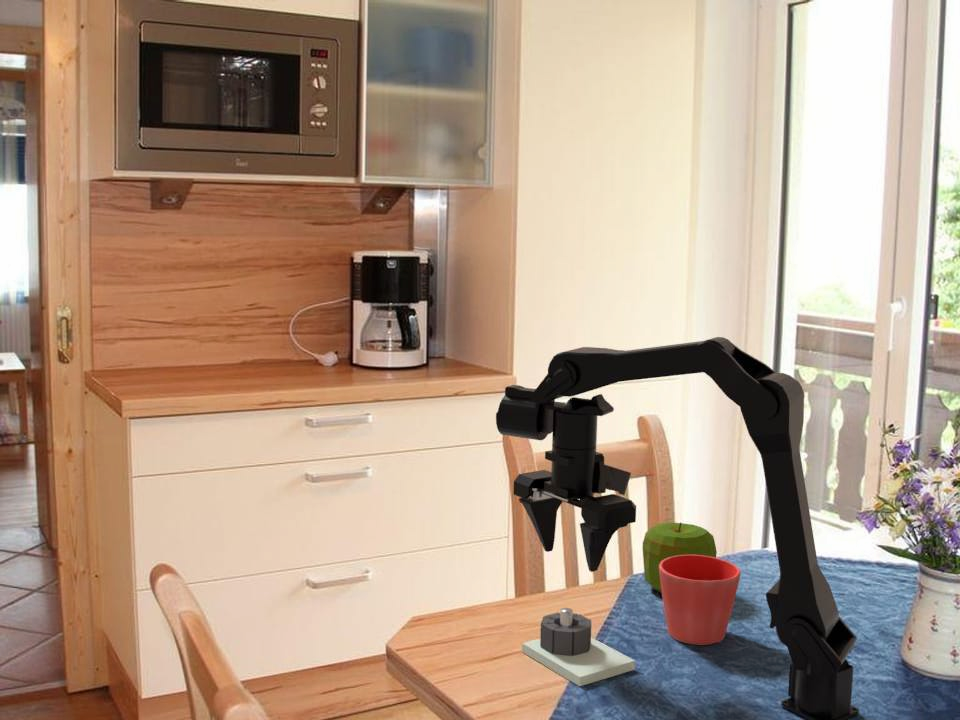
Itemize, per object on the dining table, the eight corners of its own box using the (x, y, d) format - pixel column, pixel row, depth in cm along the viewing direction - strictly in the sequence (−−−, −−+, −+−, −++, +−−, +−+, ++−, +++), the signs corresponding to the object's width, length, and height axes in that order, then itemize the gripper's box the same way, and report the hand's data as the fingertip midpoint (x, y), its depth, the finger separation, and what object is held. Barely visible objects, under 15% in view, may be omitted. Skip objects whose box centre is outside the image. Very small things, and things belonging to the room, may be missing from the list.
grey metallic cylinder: (573, 654, 139) (575, 610, 139) (564, 657, 139) (565, 613, 138) (566, 650, 141) (567, 607, 140) (556, 652, 140) (558, 609, 139)
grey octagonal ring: (600, 648, 139) (600, 625, 138) (561, 659, 135) (562, 635, 135) (569, 631, 144) (570, 609, 143) (531, 642, 140) (532, 618, 140)
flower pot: (738, 653, 141) (742, 583, 139) (654, 645, 143) (657, 576, 141) (735, 623, 151) (739, 557, 149) (657, 616, 153) (660, 551, 152)
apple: (723, 586, 166) (726, 518, 164) (700, 608, 156) (703, 536, 155) (656, 572, 171) (658, 507, 170) (630, 593, 162) (632, 524, 160)
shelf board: (634, 669, 135) (635, 660, 135) (579, 686, 130) (579, 677, 130) (575, 637, 145) (575, 628, 145) (522, 651, 140) (522, 643, 140)
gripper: (670, 452, 134) (665, 570, 137) (576, 425, 150) (572, 532, 152) (603, 463, 128) (599, 586, 130) (512, 434, 143) (509, 545, 146)
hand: (570, 560), depth 140 cm, fingers open, 9 cm apart
